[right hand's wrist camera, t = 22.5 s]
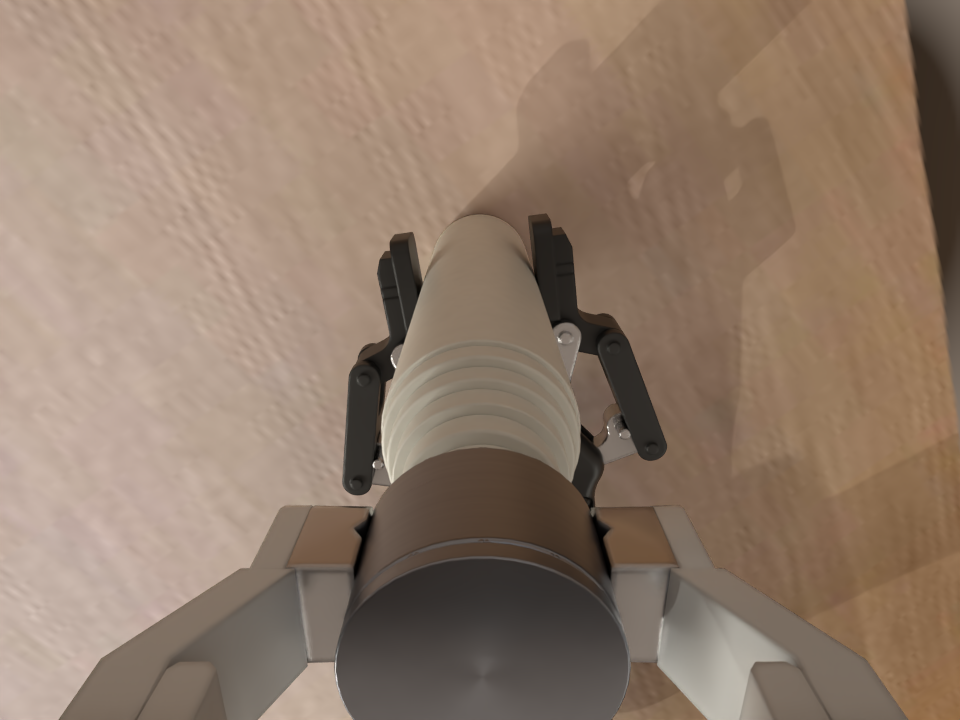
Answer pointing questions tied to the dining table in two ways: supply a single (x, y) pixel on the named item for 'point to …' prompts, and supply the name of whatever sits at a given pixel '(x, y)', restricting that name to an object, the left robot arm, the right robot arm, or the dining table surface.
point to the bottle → (480, 359)
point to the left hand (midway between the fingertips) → (469, 229)
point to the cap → (482, 599)
